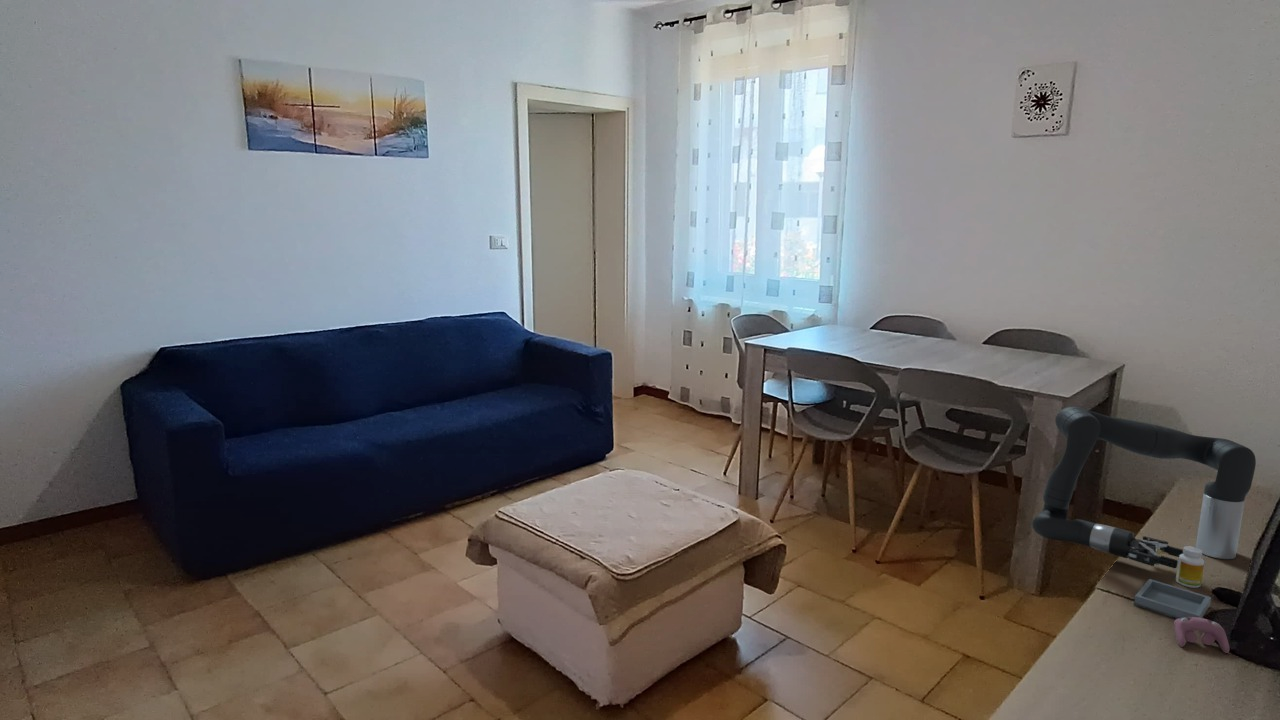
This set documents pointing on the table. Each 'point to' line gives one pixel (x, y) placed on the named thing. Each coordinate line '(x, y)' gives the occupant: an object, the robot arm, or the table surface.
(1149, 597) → the tray
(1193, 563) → the supplement bottle
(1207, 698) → the table surface
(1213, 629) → the video game controller
